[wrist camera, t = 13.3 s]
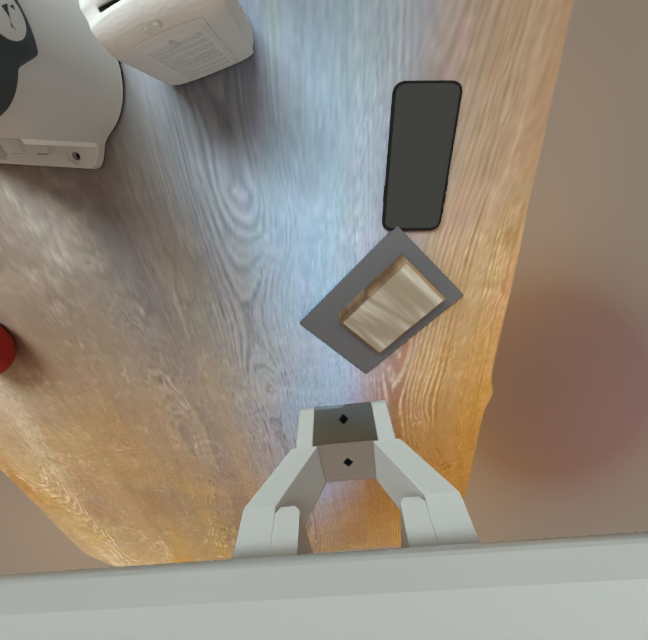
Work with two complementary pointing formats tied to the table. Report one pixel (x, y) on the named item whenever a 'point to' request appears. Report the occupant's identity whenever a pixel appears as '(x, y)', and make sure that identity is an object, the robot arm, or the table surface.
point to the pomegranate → (6, 350)
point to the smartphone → (419, 153)
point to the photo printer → (172, 35)
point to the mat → (376, 261)
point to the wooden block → (390, 305)
